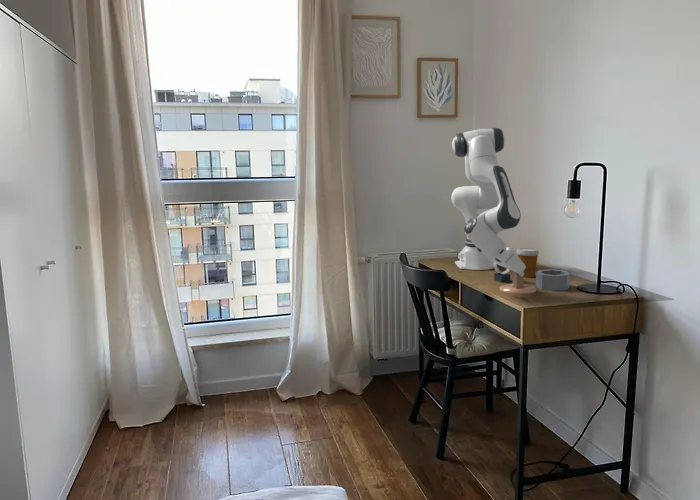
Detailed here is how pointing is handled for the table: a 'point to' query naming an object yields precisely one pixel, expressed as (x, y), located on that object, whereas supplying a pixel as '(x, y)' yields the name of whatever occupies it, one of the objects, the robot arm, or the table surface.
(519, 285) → the lid
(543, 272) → the bowl
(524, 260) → the disposable coffee cup
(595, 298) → the table surface
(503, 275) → the watch
